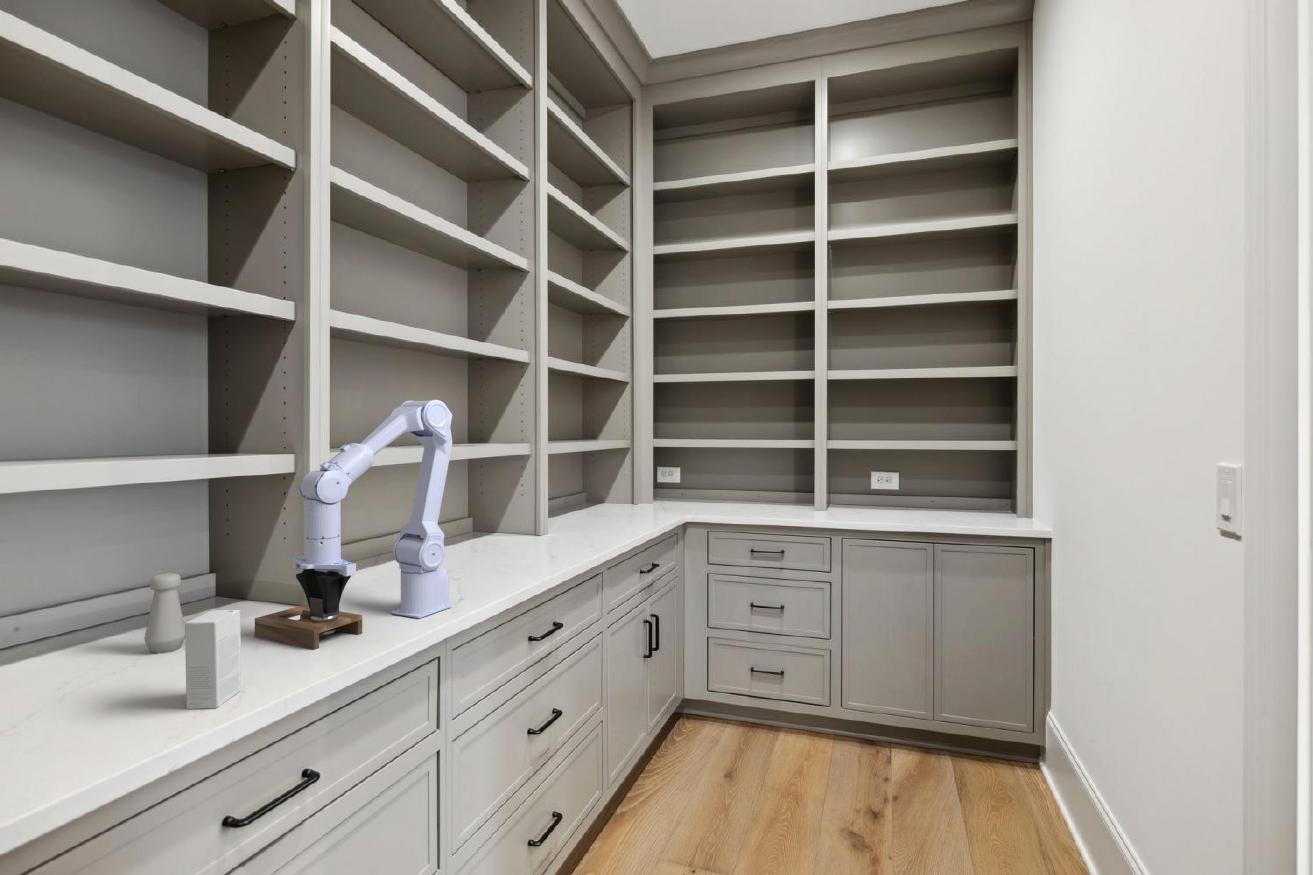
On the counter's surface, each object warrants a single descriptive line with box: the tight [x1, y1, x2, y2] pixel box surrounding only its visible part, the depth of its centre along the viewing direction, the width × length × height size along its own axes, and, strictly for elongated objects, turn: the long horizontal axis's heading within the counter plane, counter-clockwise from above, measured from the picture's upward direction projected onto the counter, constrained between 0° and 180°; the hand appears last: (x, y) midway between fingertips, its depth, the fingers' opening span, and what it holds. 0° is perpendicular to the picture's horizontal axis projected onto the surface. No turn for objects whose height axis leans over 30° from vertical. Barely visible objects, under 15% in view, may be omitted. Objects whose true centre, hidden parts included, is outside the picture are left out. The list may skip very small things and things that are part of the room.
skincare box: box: [184, 609, 242, 710], centre depth 91 cm, size 6×4×12 cm
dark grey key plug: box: [310, 594, 340, 636], centre depth 118 cm, size 4×4×7 cm
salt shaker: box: [143, 572, 185, 654], centre depth 111 cm, size 6×6×13 cm
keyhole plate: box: [254, 604, 363, 650], centre depth 120 cm, size 10×16×3 cm, turn 65°
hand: (323, 611), depth 118 cm, fingers closed on dark grey key plug, 3 cm apart
